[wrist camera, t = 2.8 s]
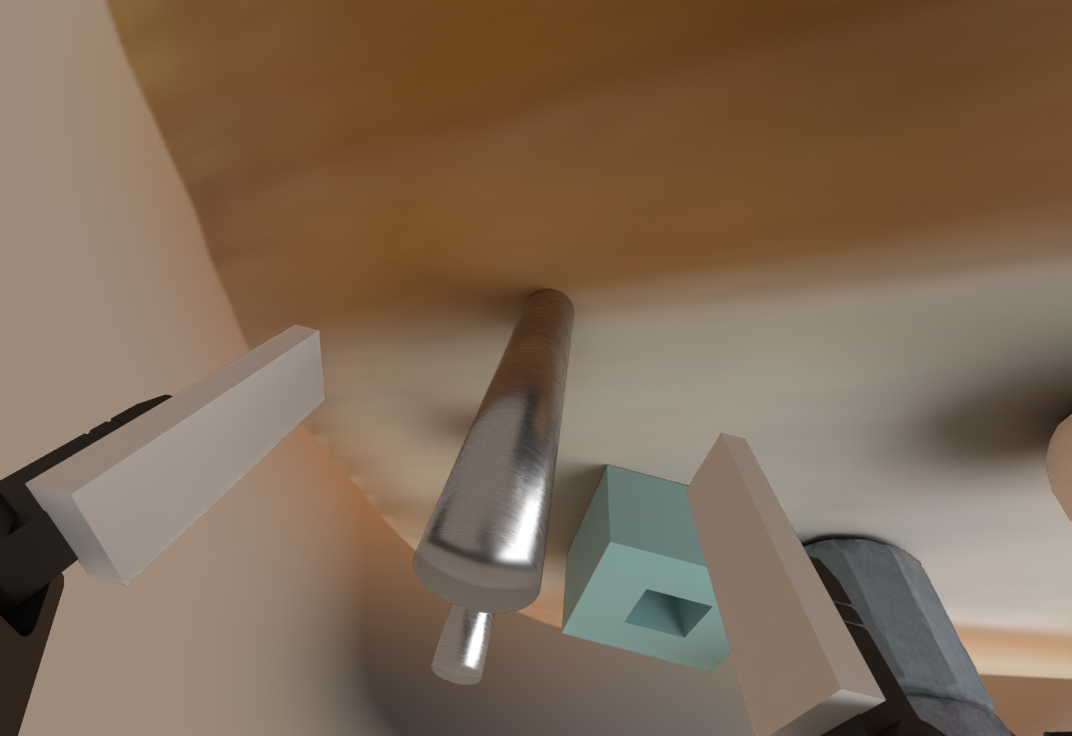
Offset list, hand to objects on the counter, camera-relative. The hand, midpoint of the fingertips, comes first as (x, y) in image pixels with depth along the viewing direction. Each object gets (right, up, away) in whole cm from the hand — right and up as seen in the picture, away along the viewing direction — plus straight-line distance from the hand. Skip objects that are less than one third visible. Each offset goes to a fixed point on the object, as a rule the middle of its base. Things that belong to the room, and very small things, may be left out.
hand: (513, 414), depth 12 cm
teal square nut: (+9, -10, +14) cm, 20 cm away
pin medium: (-2, -9, +15) cm, 18 cm away
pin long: (+1, +4, +7) cm, 8 cm away
